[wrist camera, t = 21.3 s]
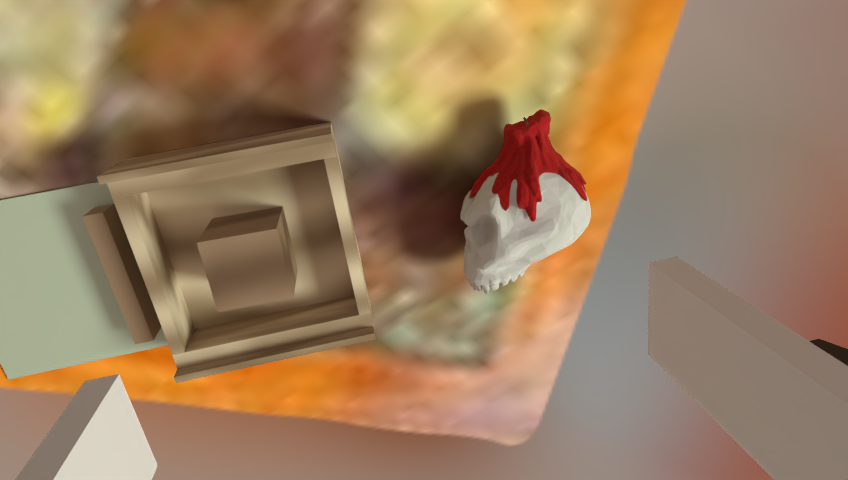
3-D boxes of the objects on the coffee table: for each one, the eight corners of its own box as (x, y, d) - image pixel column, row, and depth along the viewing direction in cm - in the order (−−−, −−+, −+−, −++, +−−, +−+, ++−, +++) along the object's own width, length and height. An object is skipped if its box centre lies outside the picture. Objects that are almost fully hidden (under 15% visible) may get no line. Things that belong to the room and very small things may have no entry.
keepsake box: (126, 158, 45) (96, 176, 39) (331, 121, 47) (331, 133, 41) (193, 344, 52) (176, 382, 46) (370, 306, 53) (375, 339, 48)
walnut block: (212, 218, 47) (196, 242, 41) (282, 206, 48) (276, 228, 42) (230, 281, 49) (217, 312, 44) (297, 268, 50) (293, 298, 44)
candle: (456, 274, 53) (446, 115, 49) (567, 262, 54) (566, 106, 51) (478, 306, 44) (468, 116, 41) (610, 290, 46) (611, 105, 42)
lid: (-72, 212, 45) (-101, 225, 42) (129, 174, 46) (115, 184, 43) (13, 374, 51) (-8, 396, 48) (189, 336, 52) (180, 355, 49)
